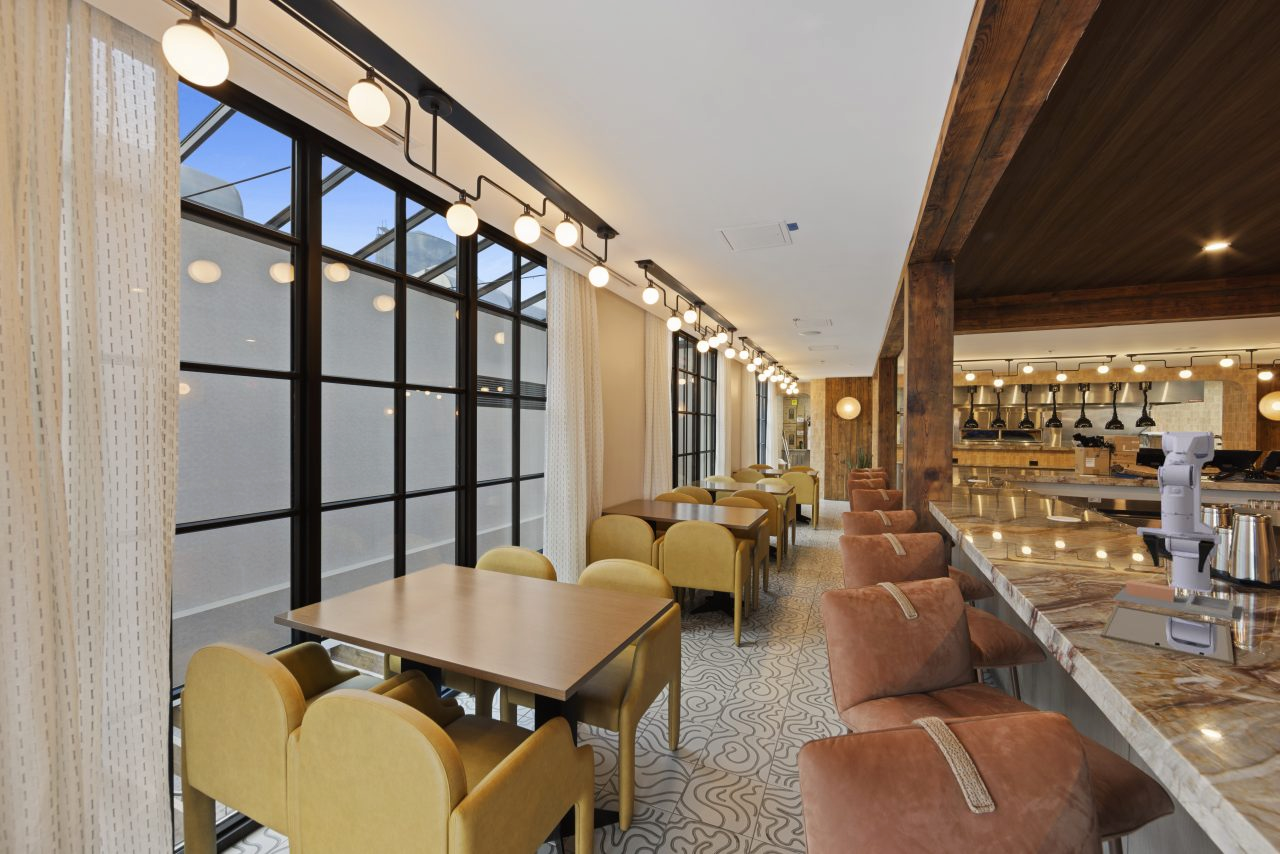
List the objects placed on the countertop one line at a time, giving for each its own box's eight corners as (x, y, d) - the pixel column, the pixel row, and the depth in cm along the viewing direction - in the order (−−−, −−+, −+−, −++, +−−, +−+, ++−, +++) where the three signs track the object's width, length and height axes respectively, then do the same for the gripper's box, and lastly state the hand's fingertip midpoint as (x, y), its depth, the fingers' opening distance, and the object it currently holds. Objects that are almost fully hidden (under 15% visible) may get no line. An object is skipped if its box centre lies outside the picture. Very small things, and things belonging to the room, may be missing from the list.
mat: (1124, 588, 150) (1124, 587, 150) (1242, 607, 133) (1242, 606, 133) (1112, 599, 140) (1112, 598, 140) (1239, 622, 123) (1239, 621, 123)
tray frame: (1191, 599, 139) (1191, 593, 139) (1235, 606, 133) (1235, 600, 133) (1185, 610, 131) (1185, 604, 131) (1232, 618, 125) (1231, 612, 125)
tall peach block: (1129, 591, 146) (1128, 580, 146) (1175, 598, 139) (1175, 587, 139) (1126, 594, 144) (1126, 582, 144) (1173, 602, 137) (1173, 590, 137)
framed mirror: (1233, 667, 101) (1229, 629, 120) (1233, 662, 101) (1229, 624, 120) (1100, 639, 115) (1115, 608, 134) (1100, 634, 115) (1115, 604, 134)
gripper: (1134, 511, 135) (1135, 565, 135) (1219, 518, 124) (1220, 577, 124) (1139, 509, 139) (1140, 561, 139) (1221, 515, 128) (1222, 572, 128)
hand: (1178, 568), depth 132 cm, fingers open, 7 cm apart
